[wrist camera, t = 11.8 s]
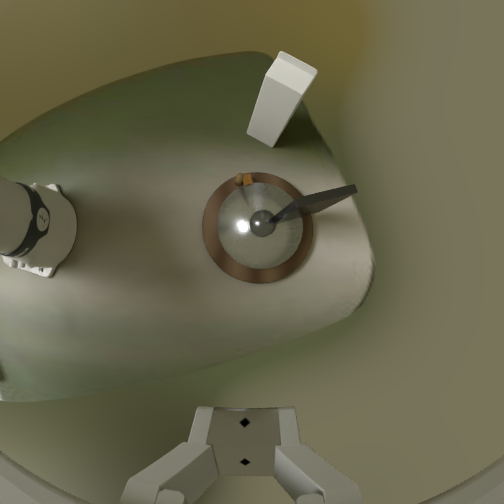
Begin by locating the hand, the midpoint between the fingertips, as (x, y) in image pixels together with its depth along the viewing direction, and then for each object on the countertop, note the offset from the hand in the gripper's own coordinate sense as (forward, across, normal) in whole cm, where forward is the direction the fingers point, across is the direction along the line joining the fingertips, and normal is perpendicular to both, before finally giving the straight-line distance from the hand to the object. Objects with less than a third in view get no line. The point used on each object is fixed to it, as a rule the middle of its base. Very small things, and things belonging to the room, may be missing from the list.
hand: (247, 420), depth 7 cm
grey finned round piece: (+42, +2, +3) cm, 42 cm away
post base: (+43, 0, +1) cm, 43 cm away
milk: (+49, +3, +20) cm, 53 cm away
